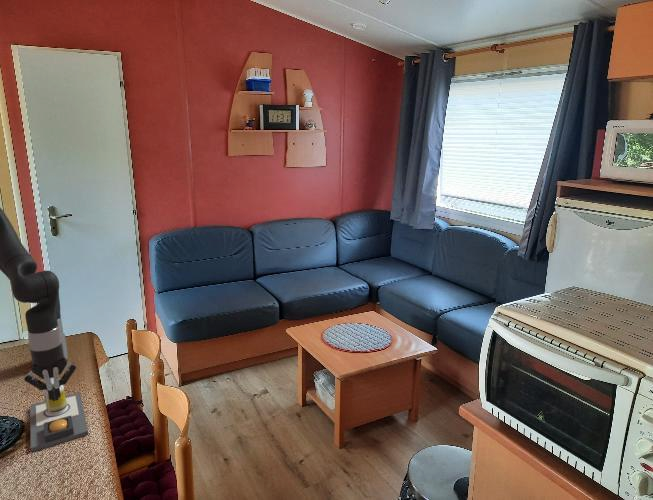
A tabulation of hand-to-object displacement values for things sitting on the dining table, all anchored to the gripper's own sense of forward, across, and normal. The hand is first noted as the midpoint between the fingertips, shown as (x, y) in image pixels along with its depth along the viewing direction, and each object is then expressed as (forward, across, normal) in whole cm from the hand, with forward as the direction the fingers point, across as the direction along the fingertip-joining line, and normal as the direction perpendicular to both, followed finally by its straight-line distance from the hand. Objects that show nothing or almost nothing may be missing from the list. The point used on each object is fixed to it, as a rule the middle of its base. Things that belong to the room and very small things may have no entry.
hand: (55, 399), depth 130 cm
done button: (+10, 0, 0) cm, 10 cm away
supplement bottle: (+10, 0, +12) cm, 16 cm away
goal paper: (+10, 0, +12) cm, 16 cm away
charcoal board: (+12, 0, +8) cm, 14 cm away
